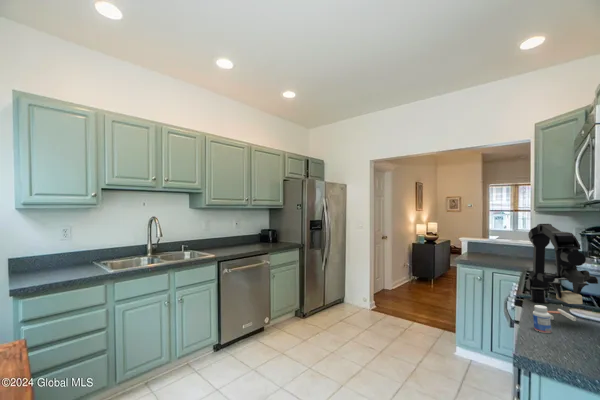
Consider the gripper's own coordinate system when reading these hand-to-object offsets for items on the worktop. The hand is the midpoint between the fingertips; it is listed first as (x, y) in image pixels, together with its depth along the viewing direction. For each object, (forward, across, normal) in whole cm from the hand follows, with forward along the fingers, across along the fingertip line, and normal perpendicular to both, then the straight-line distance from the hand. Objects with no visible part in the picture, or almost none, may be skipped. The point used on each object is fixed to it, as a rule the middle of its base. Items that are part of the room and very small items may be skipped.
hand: (568, 298), depth 120 cm
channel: (+11, 0, +11) cm, 16 cm away
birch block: (+1, 0, 0) cm, 1 cm away
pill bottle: (+11, -14, -10) cm, 21 cm away
